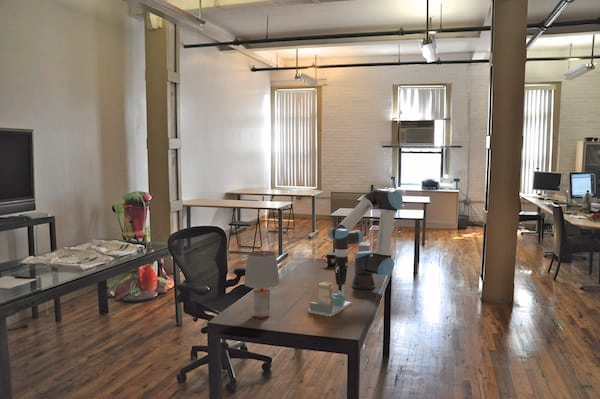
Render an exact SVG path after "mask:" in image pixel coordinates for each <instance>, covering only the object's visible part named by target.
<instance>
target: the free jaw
mask: <svg viewBox="0 0 600 399" xmlns="http://www.w3.org/2000/svg"><path fill="white" fill-rule="evenodd" d="M345 301H346V294H343V295H340V294H338V293H334V292H333V305H336V306H343V303H344V302H345Z"/></svg>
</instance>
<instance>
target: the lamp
mask: <svg viewBox="0 0 600 399" xmlns="http://www.w3.org/2000/svg"><path fill="white" fill-rule="evenodd" d="M246 259H247V260H246V264H245V265H246V266H245V274H244V279H243V280H244V281H243V285H244V286H245V287H248V288H251V289H253V290H252V315H253V316H254V318H257V319H267V318H269V316H270V315H271V290H270V288H275V287H278V286H279V285H280V284H281V283H280V281H281V280H280V273H279V266H278V259H277V253H276V252H275V251H271V250H254V251H253V250H252V251H250V252H247V257H246Z"/></svg>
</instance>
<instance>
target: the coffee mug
mask: <svg viewBox="0 0 600 399" xmlns="http://www.w3.org/2000/svg"><path fill="white" fill-rule="evenodd" d="M335 256H336V255H335V252H327V253H326V255H322V256H321V260H322V261H323V262H325V263H326V264H327V267H328V266H329V267H328V268H331V267H334V268H336V267H337V263H336V262H335ZM324 257H326V260H327V261H326V260H324V259H323V258H324ZM335 266H336V267H335Z"/></svg>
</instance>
